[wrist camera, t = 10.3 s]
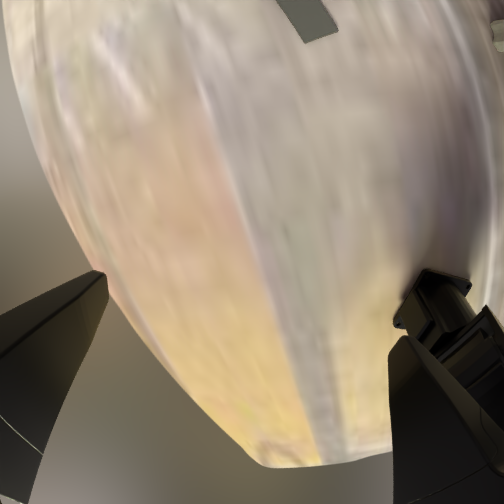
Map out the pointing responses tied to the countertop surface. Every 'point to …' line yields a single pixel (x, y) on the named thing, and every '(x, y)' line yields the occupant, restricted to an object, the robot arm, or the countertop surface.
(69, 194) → the countertop surface
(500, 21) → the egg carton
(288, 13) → the strip
